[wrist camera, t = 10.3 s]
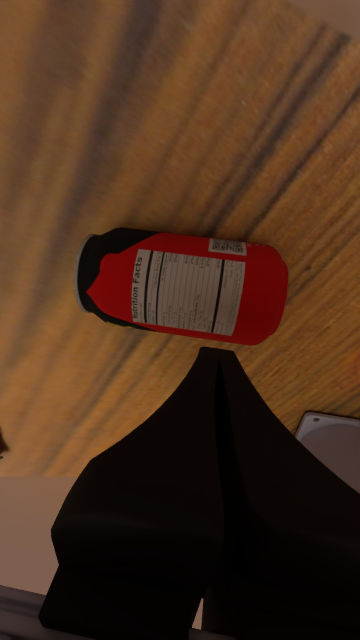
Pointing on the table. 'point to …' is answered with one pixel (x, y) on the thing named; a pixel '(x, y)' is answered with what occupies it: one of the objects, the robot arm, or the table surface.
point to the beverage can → (182, 284)
